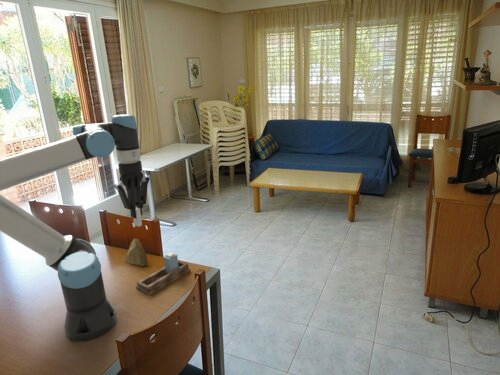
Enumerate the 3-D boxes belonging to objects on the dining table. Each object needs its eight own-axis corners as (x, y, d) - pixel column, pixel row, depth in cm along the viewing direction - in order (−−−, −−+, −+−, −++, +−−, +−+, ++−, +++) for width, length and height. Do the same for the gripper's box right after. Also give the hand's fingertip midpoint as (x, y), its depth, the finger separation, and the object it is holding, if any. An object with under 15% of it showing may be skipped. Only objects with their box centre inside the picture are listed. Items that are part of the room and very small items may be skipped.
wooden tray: (150, 295, 131) (149, 288, 130) (136, 288, 136) (135, 281, 135) (190, 270, 146) (189, 264, 145) (176, 265, 151) (175, 258, 150)
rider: (171, 275, 141) (169, 257, 139) (165, 272, 143) (163, 255, 141) (179, 270, 144) (176, 253, 142) (173, 268, 146) (171, 250, 144)
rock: (154, 259, 152) (149, 246, 160) (140, 248, 147) (135, 236, 155) (135, 277, 151) (130, 264, 159) (120, 267, 146) (116, 254, 154)
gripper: (118, 166, 116) (128, 234, 123) (152, 158, 125) (159, 221, 133) (105, 163, 120) (115, 228, 128) (139, 156, 130) (146, 217, 137)
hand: (138, 225), depth 130 cm, fingers closed
